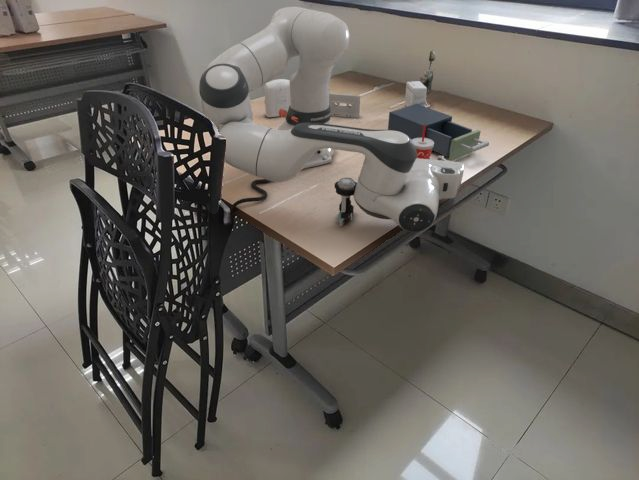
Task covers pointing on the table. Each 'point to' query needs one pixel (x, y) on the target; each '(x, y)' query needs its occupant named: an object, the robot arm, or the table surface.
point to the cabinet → (415, 120)
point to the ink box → (415, 93)
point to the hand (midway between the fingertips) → (421, 156)
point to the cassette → (344, 110)
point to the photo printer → (276, 96)
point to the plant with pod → (428, 77)
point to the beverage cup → (423, 146)
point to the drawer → (454, 139)
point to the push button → (345, 198)
